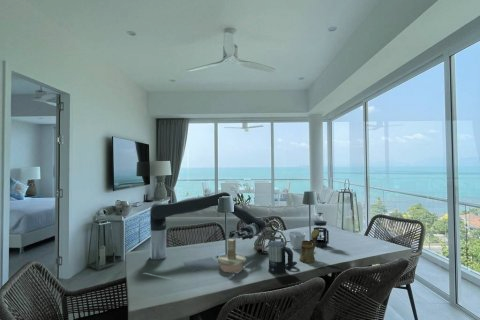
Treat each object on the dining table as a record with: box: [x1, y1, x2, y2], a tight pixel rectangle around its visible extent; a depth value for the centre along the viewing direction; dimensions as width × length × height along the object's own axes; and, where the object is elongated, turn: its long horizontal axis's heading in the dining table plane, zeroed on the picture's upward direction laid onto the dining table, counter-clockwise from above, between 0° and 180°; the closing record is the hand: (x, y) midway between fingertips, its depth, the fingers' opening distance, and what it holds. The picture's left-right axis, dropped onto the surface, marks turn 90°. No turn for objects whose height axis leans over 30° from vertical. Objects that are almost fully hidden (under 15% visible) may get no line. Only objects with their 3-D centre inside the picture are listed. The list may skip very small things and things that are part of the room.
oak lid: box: [217, 238, 246, 266], centre depth 147 cm, size 15×15×11 cm
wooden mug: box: [299, 228, 320, 264], centre depth 162 cm, size 9×14×18 cm, turn 116°
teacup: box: [287, 231, 307, 250], centre depth 184 cm, size 12×15×10 cm
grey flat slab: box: [182, 256, 221, 273], centre depth 154 cm, size 18×16×1 cm
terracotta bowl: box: [220, 263, 244, 275], centre depth 147 cm, size 11×11×5 cm
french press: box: [313, 212, 330, 249], centre depth 190 cm, size 12×9×23 cm
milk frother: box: [267, 240, 298, 275], centre depth 147 cm, size 14×16×15 cm
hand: (236, 237), depth 158 cm, fingers open, 8 cm apart
